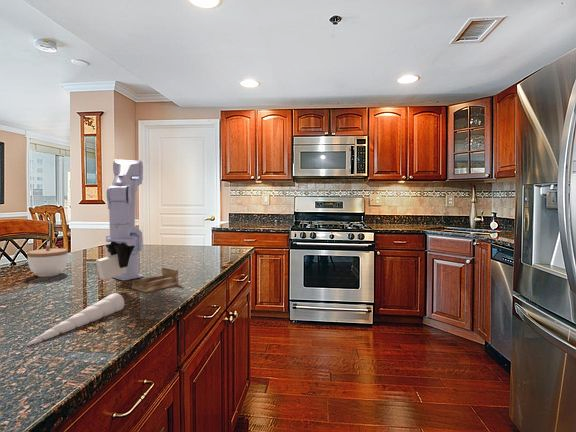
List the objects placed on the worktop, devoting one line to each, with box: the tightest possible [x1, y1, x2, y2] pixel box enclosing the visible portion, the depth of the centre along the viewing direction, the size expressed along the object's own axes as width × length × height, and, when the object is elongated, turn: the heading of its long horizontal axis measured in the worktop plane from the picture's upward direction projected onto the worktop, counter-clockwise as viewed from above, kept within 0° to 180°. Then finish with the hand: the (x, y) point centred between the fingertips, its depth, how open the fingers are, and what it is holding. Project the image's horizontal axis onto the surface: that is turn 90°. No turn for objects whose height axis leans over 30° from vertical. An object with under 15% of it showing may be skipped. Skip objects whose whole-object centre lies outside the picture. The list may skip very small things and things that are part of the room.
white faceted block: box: [95, 254, 126, 281], centre depth 106 cm, size 3×7×6 cm, turn 143°
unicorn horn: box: [26, 292, 125, 346], centre depth 79 cm, size 5×24×5 cm, turn 160°
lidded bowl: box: [26, 245, 69, 278], centre depth 129 cm, size 13×13×11 cm
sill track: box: [131, 266, 179, 293], centre depth 113 cm, size 12×8×5 cm, turn 144°
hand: (120, 266), depth 108 cm, fingers closed on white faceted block, 3 cm apart
